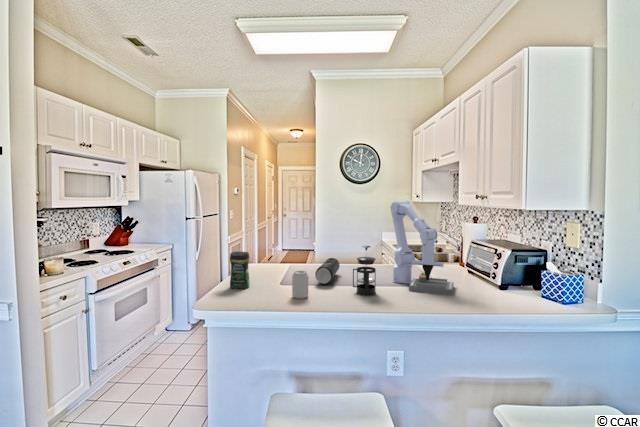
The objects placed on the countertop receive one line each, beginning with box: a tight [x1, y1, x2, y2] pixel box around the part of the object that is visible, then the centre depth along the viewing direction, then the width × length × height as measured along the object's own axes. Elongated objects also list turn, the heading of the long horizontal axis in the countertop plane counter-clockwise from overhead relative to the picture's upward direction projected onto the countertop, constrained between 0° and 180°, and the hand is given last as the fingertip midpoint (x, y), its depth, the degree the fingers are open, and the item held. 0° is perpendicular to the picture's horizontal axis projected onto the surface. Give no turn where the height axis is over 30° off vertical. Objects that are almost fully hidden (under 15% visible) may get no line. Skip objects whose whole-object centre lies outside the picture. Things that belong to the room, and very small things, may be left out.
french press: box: [352, 245, 377, 297], centre depth 170 cm, size 12×9×23 cm
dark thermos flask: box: [315, 257, 341, 285], centre depth 196 cm, size 10×28×10 cm, turn 169°
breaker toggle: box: [418, 274, 426, 283], centre depth 176 cm, size 3×3×4 cm
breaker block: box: [408, 271, 455, 296], centre depth 178 cm, size 20×16×7 cm
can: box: [291, 270, 309, 300], centre depth 164 cm, size 8×8×12 cm
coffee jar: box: [229, 251, 251, 290], centre depth 181 cm, size 10×8×19 cm
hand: (427, 280), depth 175 cm, fingers closed
